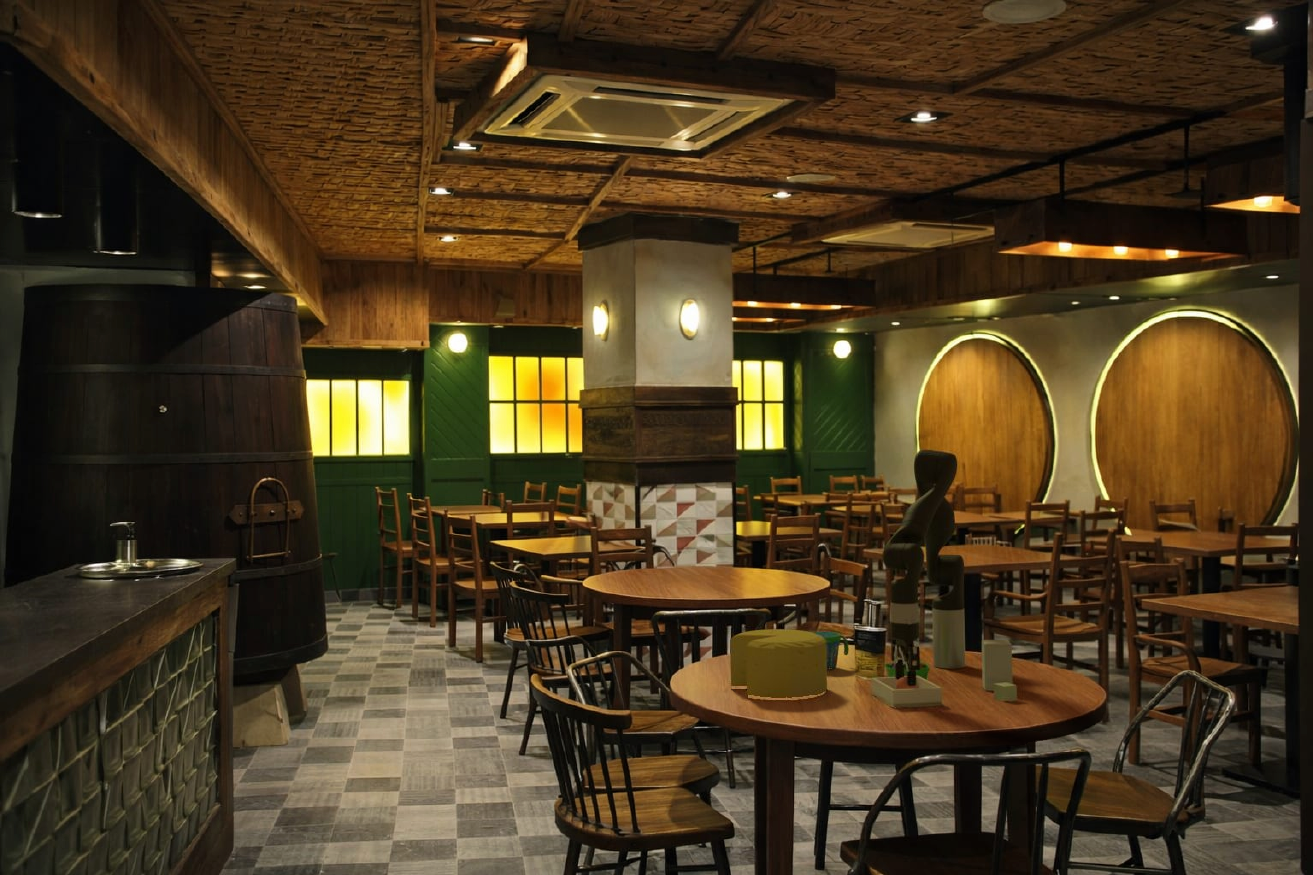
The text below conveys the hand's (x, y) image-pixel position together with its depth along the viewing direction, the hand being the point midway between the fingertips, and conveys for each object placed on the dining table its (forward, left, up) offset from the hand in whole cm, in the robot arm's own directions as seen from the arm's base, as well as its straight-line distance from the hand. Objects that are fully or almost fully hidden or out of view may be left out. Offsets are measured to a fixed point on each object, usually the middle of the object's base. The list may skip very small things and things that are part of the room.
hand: (905, 682), depth 294 cm
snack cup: (-46, -8, -5) cm, 47 cm away
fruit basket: (-20, +8, -5) cm, 22 cm away
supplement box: (-8, +29, -5) cm, 30 cm away
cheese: (-19, -29, -5) cm, 35 cm away
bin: (0, 0, -5) cm, 5 cm away
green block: (+5, +25, -5) cm, 26 cm away
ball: (0, 0, -4) cm, 4 cm away
